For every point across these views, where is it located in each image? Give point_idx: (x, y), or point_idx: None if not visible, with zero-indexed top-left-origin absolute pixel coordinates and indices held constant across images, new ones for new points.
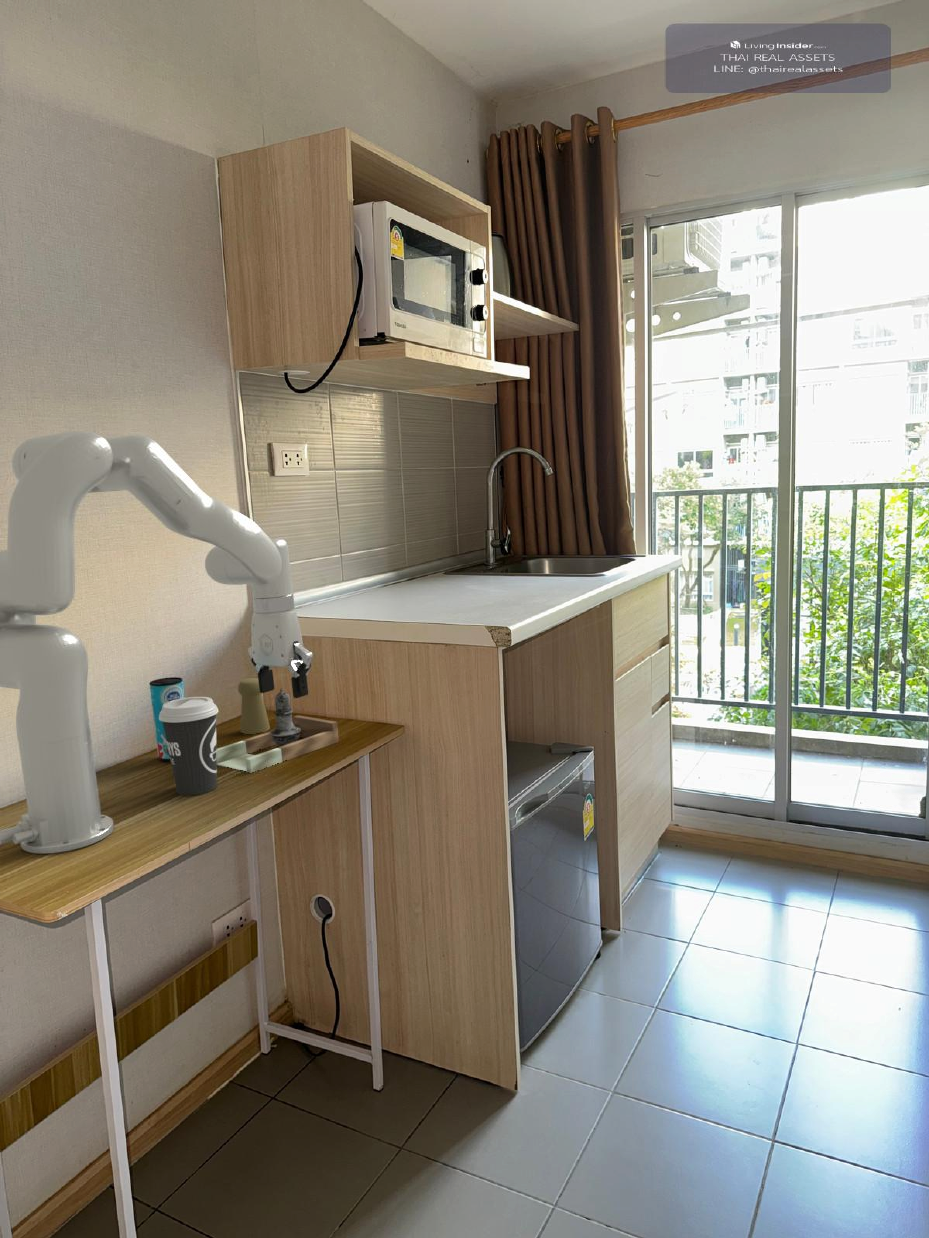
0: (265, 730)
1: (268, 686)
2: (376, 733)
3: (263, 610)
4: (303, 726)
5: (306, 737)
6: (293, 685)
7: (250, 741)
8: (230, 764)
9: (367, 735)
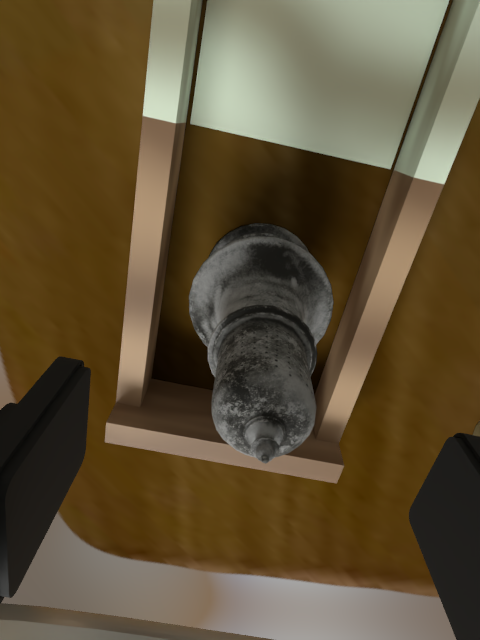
0: (477, 432)
1: (439, 504)
2: (75, 481)
3: None
4: None
5: None
6: (15, 419)
7: (400, 205)
8: None
9: (87, 461)
